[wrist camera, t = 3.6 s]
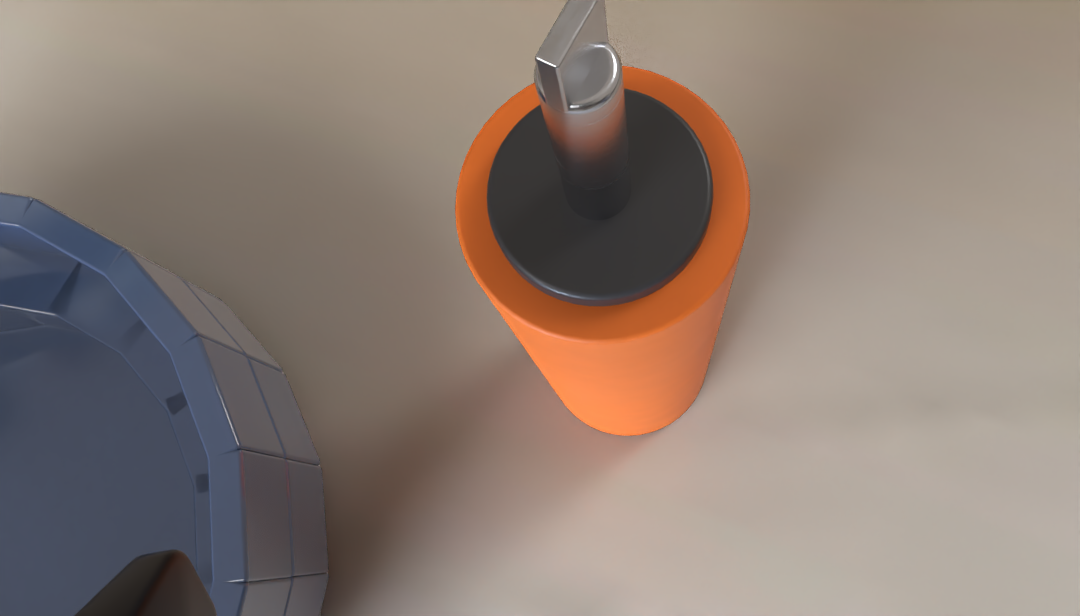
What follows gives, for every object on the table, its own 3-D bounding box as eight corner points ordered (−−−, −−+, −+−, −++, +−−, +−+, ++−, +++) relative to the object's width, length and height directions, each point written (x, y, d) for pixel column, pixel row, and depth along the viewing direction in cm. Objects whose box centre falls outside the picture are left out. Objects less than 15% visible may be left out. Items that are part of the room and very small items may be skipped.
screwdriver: (661, 464, 19) (667, 318, 6) (520, 389, 20) (268, 119, 7) (734, 323, 20) (878, -78, 7) (594, 254, 20) (485, -229, 7)
